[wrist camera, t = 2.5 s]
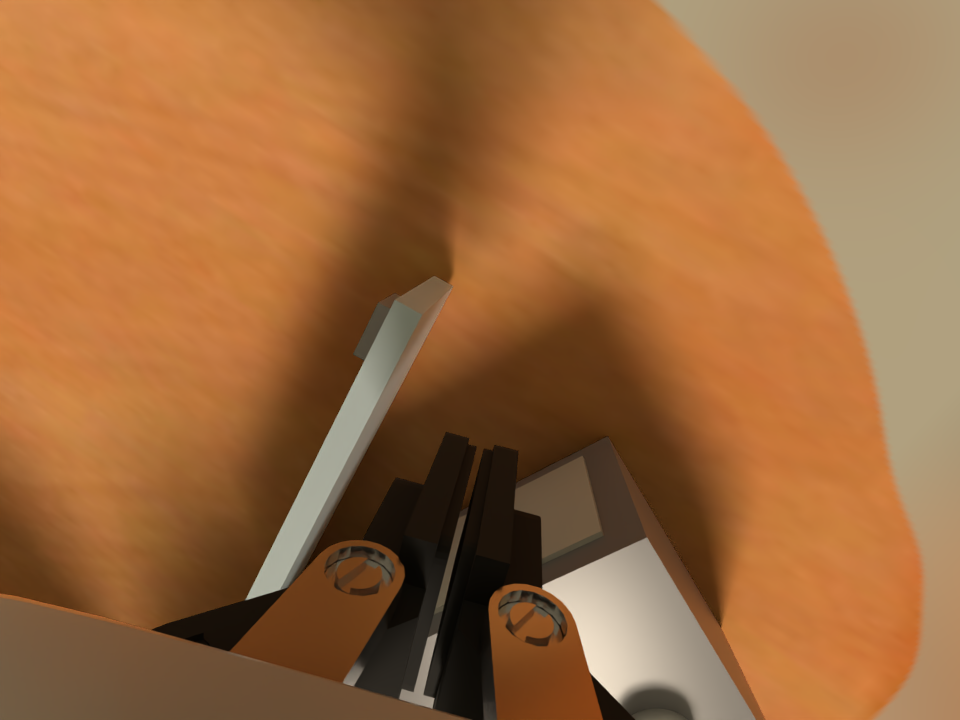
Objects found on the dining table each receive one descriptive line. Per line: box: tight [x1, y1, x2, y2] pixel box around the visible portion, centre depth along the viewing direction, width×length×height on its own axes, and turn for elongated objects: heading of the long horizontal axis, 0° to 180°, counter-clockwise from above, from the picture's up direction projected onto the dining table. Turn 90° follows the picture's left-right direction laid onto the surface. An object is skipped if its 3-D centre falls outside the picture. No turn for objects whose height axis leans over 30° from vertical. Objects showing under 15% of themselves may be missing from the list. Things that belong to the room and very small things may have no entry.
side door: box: [246, 276, 453, 600], centre depth 16 cm, size 14×2×5 cm, turn 152°
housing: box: [399, 436, 765, 720], centre depth 17 cm, size 16×9×7 cm, turn 122°
